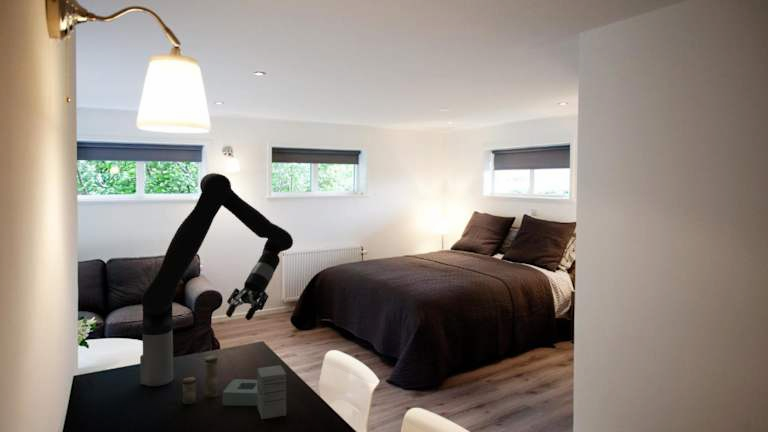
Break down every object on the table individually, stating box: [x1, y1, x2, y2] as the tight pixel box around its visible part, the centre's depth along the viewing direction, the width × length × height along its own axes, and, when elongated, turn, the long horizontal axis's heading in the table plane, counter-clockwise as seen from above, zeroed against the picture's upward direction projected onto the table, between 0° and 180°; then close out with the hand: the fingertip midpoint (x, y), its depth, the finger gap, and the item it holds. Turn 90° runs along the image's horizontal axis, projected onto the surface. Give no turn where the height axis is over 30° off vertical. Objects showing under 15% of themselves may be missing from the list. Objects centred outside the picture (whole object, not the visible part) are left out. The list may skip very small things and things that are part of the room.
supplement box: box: [256, 364, 287, 420], centre depth 142 cm, size 7×7×13 cm
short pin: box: [182, 376, 197, 405], centre depth 149 cm, size 4×4×7 cm
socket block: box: [222, 378, 257, 407], centre depth 151 cm, size 12×10×4 cm
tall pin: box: [204, 355, 219, 399], centre depth 153 cm, size 4×4×12 cm
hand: (237, 317), depth 163 cm, fingers open, 8 cm apart
